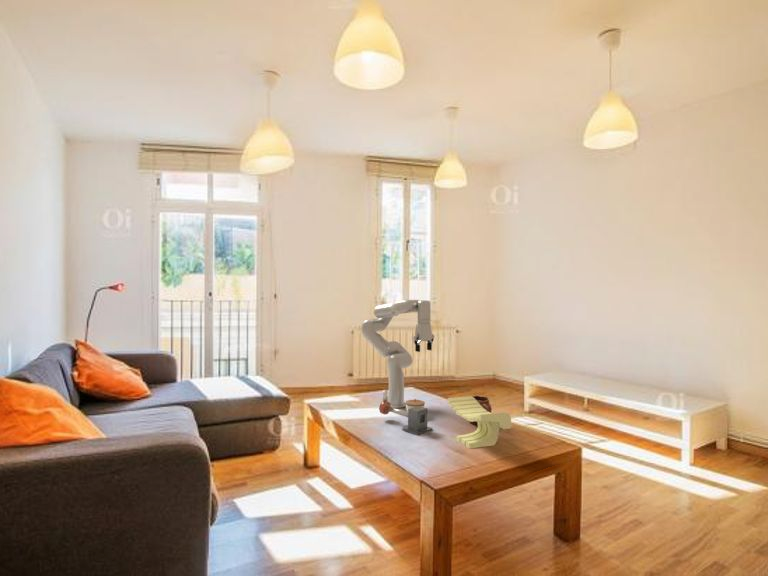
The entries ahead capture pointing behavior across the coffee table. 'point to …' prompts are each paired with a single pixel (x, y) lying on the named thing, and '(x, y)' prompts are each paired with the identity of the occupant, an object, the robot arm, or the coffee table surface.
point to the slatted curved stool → (479, 422)
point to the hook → (389, 406)
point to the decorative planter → (484, 403)
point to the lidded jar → (414, 404)
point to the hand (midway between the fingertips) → (423, 350)
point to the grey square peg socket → (417, 421)
